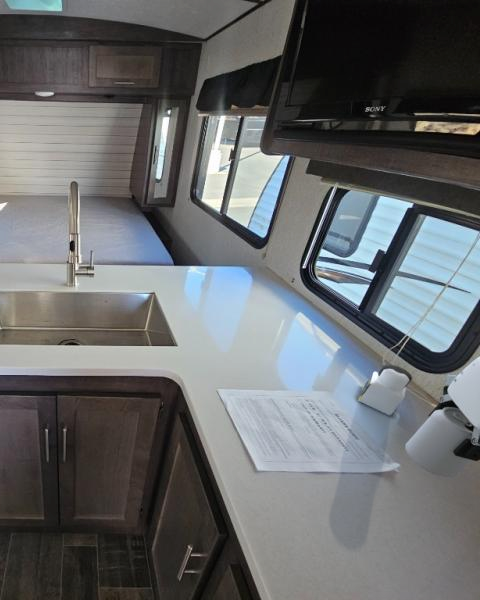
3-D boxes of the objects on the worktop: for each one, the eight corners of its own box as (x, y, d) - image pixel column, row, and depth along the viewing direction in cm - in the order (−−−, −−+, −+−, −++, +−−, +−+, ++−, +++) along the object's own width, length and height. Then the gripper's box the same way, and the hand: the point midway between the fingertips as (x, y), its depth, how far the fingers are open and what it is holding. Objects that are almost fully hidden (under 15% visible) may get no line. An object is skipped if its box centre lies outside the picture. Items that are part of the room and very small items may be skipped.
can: (442, 486, 58) (487, 445, 52) (394, 451, 64) (429, 410, 58) (463, 470, 61) (508, 430, 55) (415, 438, 67) (450, 398, 60)
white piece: (362, 388, 95) (383, 357, 89) (393, 402, 91) (417, 371, 85) (357, 401, 91) (379, 369, 84) (390, 416, 86) (415, 384, 80)
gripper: (610, 415, 41) (513, 490, 51) (511, 338, 55) (449, 408, 65) (532, 399, 44) (452, 473, 53) (456, 329, 58) (403, 397, 67)
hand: (451, 437), depth 59 cm, fingers closed on can, 7 cm apart
